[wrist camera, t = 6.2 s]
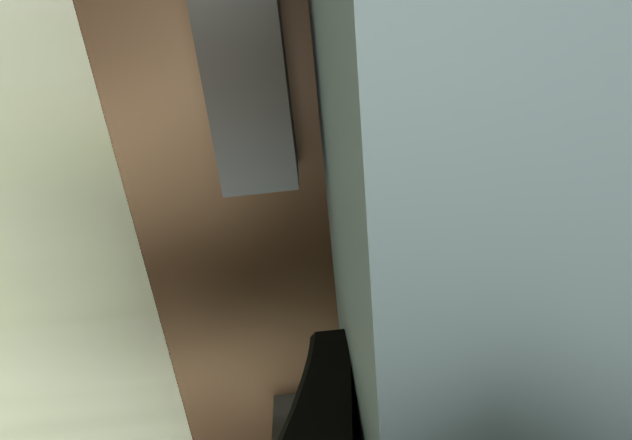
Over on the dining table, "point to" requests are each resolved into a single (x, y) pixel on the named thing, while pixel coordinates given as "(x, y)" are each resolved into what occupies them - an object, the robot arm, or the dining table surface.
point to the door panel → (481, 213)
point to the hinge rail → (222, 193)
